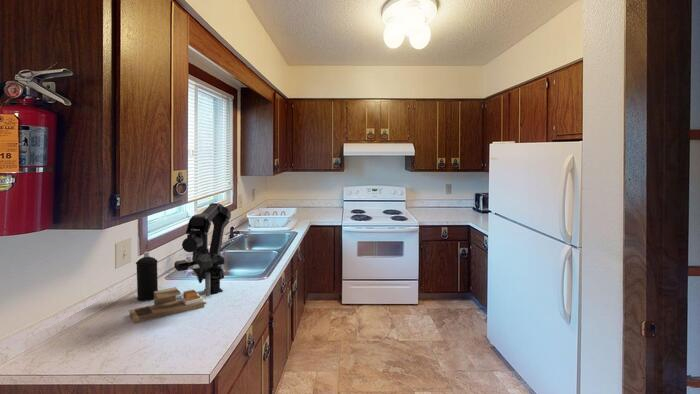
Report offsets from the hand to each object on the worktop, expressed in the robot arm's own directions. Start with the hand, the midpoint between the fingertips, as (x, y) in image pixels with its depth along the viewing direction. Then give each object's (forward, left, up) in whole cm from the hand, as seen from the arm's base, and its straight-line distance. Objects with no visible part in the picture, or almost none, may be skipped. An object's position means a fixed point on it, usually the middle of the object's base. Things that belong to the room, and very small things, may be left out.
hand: (200, 282), depth 151 cm
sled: (0, -1, -7) cm, 7 cm away
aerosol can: (-20, -15, -9) cm, 27 cm away
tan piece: (0, -12, -9) cm, 15 cm away
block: (0, -4, -7) cm, 8 cm away
